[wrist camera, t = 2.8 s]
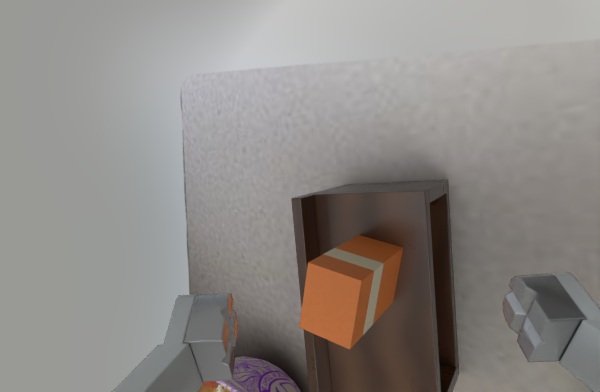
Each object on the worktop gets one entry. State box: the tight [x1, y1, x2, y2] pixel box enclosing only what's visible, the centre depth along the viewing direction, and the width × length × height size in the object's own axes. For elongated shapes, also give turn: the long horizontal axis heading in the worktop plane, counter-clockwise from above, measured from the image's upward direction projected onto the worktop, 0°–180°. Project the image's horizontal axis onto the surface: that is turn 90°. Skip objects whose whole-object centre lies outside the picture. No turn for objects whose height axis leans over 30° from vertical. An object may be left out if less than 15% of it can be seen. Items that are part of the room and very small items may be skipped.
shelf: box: [292, 180, 459, 392], centre depth 39 cm, size 11×20×12 cm, turn 7°
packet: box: [299, 235, 403, 349], centre depth 31 cm, size 4×5×9 cm
